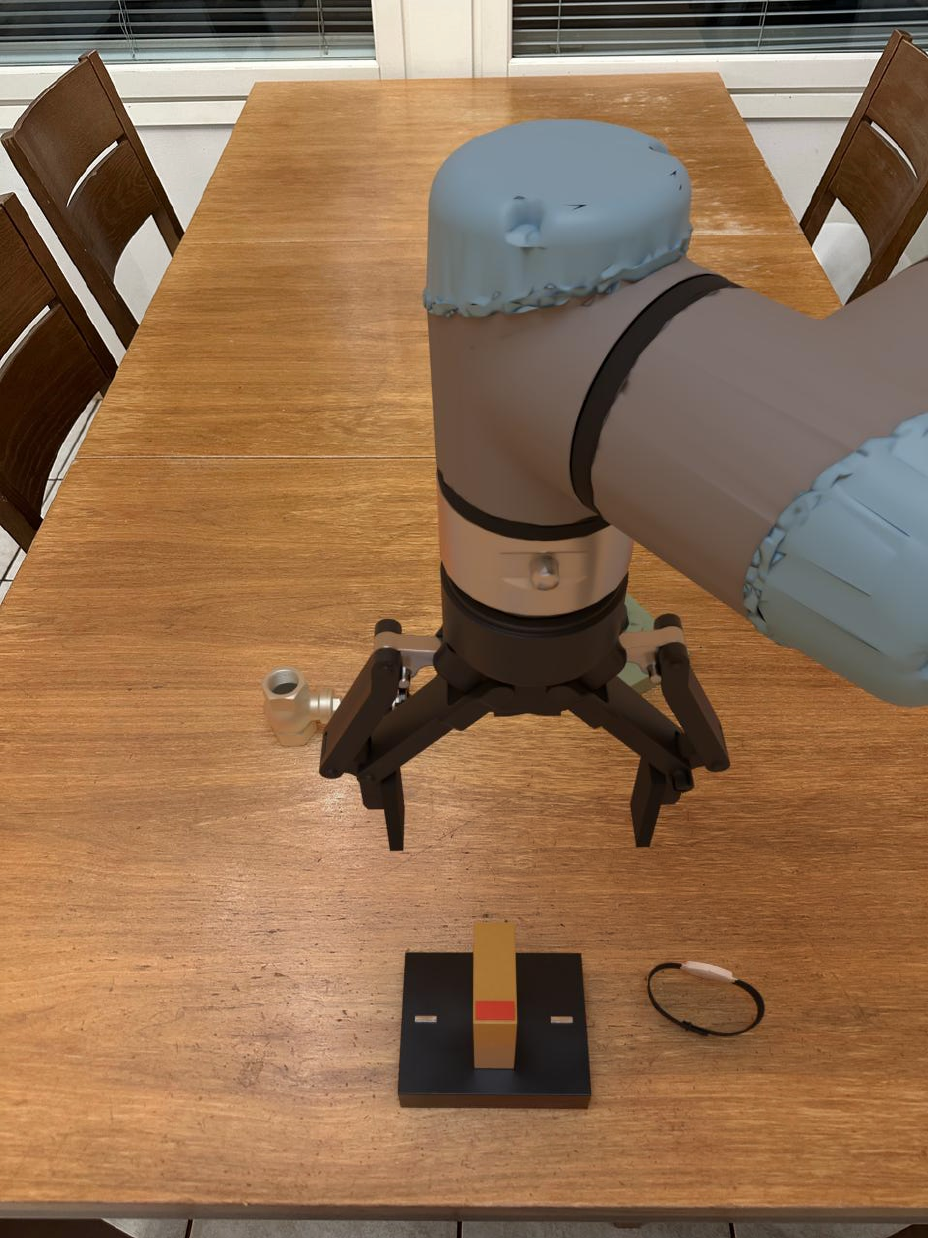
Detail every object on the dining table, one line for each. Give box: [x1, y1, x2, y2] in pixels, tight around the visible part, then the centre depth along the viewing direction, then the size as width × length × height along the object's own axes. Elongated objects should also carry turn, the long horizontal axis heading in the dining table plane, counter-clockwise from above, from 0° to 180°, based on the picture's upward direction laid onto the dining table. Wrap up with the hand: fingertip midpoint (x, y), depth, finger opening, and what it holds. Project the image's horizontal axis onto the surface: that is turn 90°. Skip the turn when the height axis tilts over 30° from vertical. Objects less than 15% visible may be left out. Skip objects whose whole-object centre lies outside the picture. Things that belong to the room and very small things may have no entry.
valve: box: [259, 665, 412, 747], centre depth 78 cm, size 7×7×12 cm
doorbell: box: [617, 592, 691, 695], centre depth 85 cm, size 12×10×4 cm
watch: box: [646, 960, 766, 1038], centre depth 63 cm, size 8×5×4 cm, turn 74°
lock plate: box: [397, 951, 593, 1110], centre depth 62 cm, size 12×9×3 cm
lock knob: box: [472, 922, 517, 1068], centre depth 58 cm, size 6×2×8 cm, turn 0°
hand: (518, 827), depth 53 cm, fingers open, 13 cm apart
